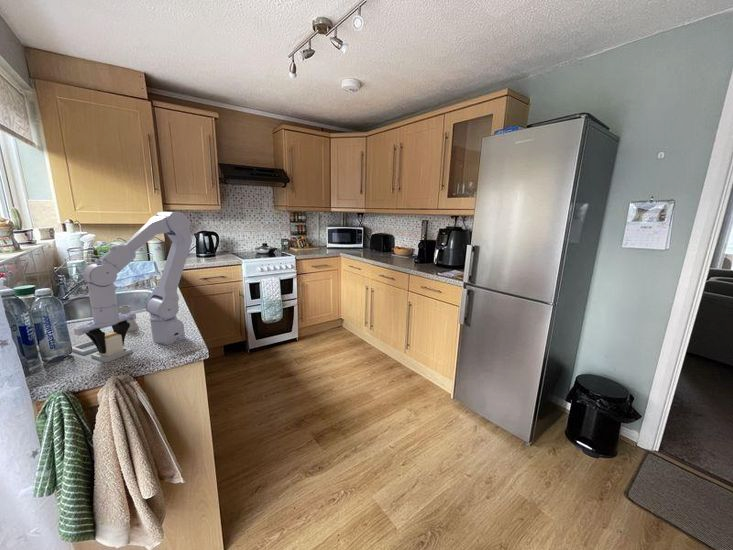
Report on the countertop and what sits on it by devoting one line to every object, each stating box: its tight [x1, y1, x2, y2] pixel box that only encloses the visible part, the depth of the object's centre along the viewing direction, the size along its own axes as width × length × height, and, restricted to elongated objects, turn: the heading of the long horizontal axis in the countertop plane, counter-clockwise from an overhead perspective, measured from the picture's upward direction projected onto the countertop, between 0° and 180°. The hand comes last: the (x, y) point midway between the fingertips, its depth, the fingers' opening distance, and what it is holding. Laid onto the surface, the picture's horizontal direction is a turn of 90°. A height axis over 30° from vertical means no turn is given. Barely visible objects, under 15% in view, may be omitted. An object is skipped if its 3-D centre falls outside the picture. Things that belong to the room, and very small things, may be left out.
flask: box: [118, 304, 139, 333], centre depth 109 cm, size 7×7×10 cm
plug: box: [100, 331, 124, 357], centre depth 90 cm, size 4×4×7 cm
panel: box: [68, 340, 139, 366], centre depth 93 cm, size 18×10×2 cm, turn 68°
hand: (111, 349), depth 90 cm, fingers closed on plug, 4 cm apart
